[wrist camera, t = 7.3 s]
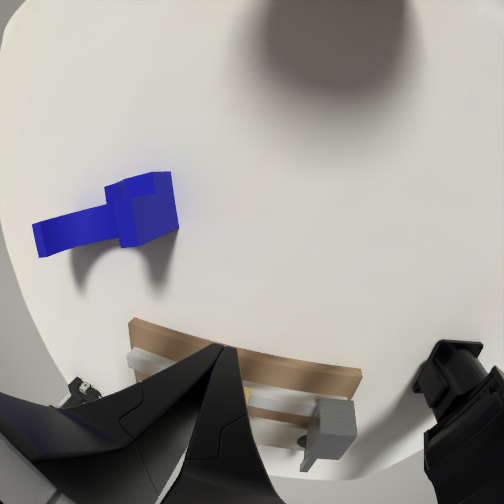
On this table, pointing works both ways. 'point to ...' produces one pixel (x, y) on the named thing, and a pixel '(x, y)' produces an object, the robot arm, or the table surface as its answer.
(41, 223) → the cable clip
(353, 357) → the table surface
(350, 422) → the fixed leg
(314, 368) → the board
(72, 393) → the push button
